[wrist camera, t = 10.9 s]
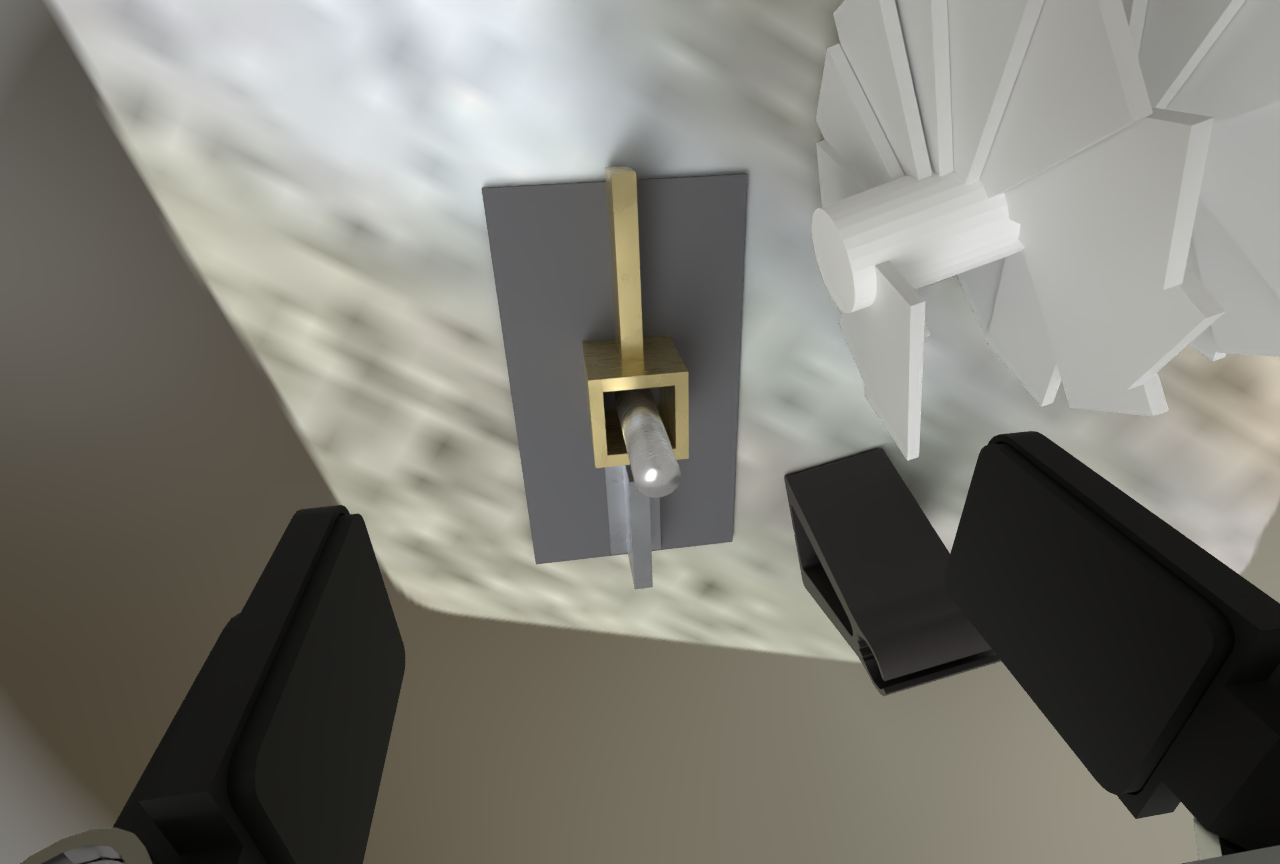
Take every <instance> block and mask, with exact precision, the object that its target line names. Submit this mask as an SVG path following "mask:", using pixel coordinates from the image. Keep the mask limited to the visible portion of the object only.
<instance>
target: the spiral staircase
mask: <svg viewBox="0 0 1280 864" xmlns="http://www.w3.org/2000/svg"><path fill="white" fill-rule="evenodd" d="M833 15H834V19H835V24H836V28H837V32H838V36H839V40H840V44H841V46H840V44H836V45H834V46H831V47H829V48H827V51H826V58H825V64H824V70H823V77H822V83H821V90H820V96H819V102H818V109H817V115H816V122H817V124H818V126H819V128H820V130H821V133H822V135H823V137H824V139H825V140H822V141H819V142H817V143H816V148H817V158H818V169H819V180H820V190H821V201H822V207H821V208H818V209H816V210H815V211H814V213H813V217H812V239H813V245H814V250H815V255H816V259H817V263H818V266H819V269H820V272H821V275H822V278H823V281H824V283H825V285H826V288H827V290H828V292H829V294H830V296H831V297H832V299H833V301H834V302H835V304H836V305H837V306H838V308H839V309H840V311H841V315H842V317H841V319H840V322H839V325H840V328H841V330H842V332H843V334H844V337H845V339H846V341H847V344H848V346H849V348H850V351H851V353H852V355H853V358H854V360H855V362H856V364H857V367H858V369H859V371H860V374H861V376H862V378H863V381H864V390H865V397H866V399H867V400H868V402H869V403H870V405H871V406H872V408H873V410H874V411H875V413H876V414H877V416H878V417H879V419H880V420H881V422H882V423H883V425H884V426H885V428H886V429H887V431H888V432H889V434H890V435H891V437H892V438H893V440H894V441H895V443H896V444H897V446H898V447H899V449H900V450H901V452H902V454H903V455H904V457H905V458H906V460H907V461H909V460H912V459H915V458H918V457H919V445H920V421H921V397H922V374H923V350H924V342H925V341H926V339H927V338H928V337H929V336H930V334H931V333H930V331H929V328H928V326H927V324H926V322H925V303H926V301H925V300H924V299H923V298H922V297H921V295H920V294H919V293H918V292H917V291H916V290H915V289H918V288H921V287H924V286H926V285H929V284H932V283H935V282H938V281H940V280H943V279H946V278H949V277H951V276H954V275H957V276H958V279H959V281H960V283H961V285H962V288H963V290H964V292H965V294H966V296H967V299H968V301H969V303H970V305H971V308H972V310H973V312H974V314H975V316H976V319H977V321H978V323H979V325H980V328H981V330H982V332H983V334H984V336H985V339H986V341H987V344H988V345H989V346H990V348H991V349H992V350H993V351H994V352H995V353H996V355H997V356H998V357H999V358H1000V359H1001V360H1002V362H1003V363H1004V364H1005V365H1006V366H1007V368H1008V369H1009V370H1010V371H1011V372H1012V373H1013V375H1014V376H1015V377H1016V378H1017V379H1018V380H1019V382H1020V383H1021V384H1022V385H1023V386H1024V387H1025V389H1026V390H1027V391H1028V392H1029V393H1030V394H1031V396H1032V397H1033V398H1034V399H1035V400H1036V401H1037V403H1038V404H1039V405H1040V406H1041V407H1042V406H1045V405H1048V404H1051V403H1053V401H1054V398H1055V396H1056V393H1057V390H1058V387H1059V385H1060V382H1061V380H1062V383H1063V386H1064V389H1065V393H1066V396H1067V399H1068V403H1069V406H1070V408H1077V409H1087V410H1096V411H1106V412H1116V413H1125V414H1135V415H1145V416H1155V415H1158V414H1161V413H1164V412H1167V411H1169V410H1168V407H1167V403H1166V400H1165V396H1164V393H1163V389H1162V386H1161V382H1160V379H1159V375H1158V371H1159V370H1160V369H1161V368H1162V367H1163V366H1164V365H1166V364H1167V363H1168V362H1169V361H1170V360H1171V359H1172V358H1174V357H1175V356H1176V355H1177V354H1178V353H1179V352H1180V351H1181V350H1183V349H1184V348H1185V347H1186V346H1189V347H1191V348H1192V349H1194V350H1195V351H1197V352H1199V353H1200V354H1202V355H1203V356H1205V357H1207V358H1208V359H1210V360H1211V361H1215V360H1218V359H1221V358H1224V357H1225V356H1226V354H1227V353H1230V354H1247V355H1264V356H1280V0H844V2H843V3H842V4H841V5H840V6H839V7H838V9H837V10H836V11H835V12H834V13H833Z"/></svg>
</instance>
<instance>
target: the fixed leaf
mask: <svg viewBox="0 0 1280 864" xmlns="http://www.w3.org/2000/svg"><path fill="white" fill-rule="evenodd" d="M613 395H614V399H615V403H616V407H617V411H618V415H619V420H620V424H621V428H622V432H623V436H624V440H625V445H626V449H627V453H628V457H629V461H630V465H621V466H612V467H605V478H606V491H607V505H608V519H609V533H610V546H611V555H614V554H623V553H628V556H629V561H630V566H631V572H632V577H633V582H634V588H635V589H641V588H649V587H653V583H652V554H651V550H658V549H661V531H660V497H663V496H666V495H668V494H670V493H672V492H673V491H674V490H675V489H676V488H677V487H678V485H679V483H680V480H681V471H680V468H679V465H678V462H677V460H676V457H675V454H674V452H673V449H672V446H671V444H670V441H669V438H668V436H667V433H666V430H665V428H664V425H663V422H662V420H661V417H660V414H659V412H658V409H657V406H656V404H655V401H654V398H653V396H652V393H651V390H650V388H642V389H631V390H620V391H613Z"/></svg>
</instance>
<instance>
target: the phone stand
mask: <svg viewBox="0 0 1280 864" xmlns="http://www.w3.org/2000/svg"><path fill="white" fill-rule="evenodd" d="M784 479H785V484H786V490H787V495H788V501H789V507H790V512H791V518H792V524H793V529H794V532H795V534H794V535H795V540H796V546H797V552H798V557H799V563H800V569H801V574H802V580H803V583H804V586H805V588H806V589H807V591H808V592H809V593H810V594H811V596H812V597H813V598H814V600H815V601H816V602H817V604H818V605H819V606H820V607H821V609H822V610H823V611H824V613H825V614H826V615H827V617H828V618H829V619H830V620H831V622H832V623H833V624H834V626H835V627H836V628H837V629H838V631H839V632H840V633H841V635H842V636H843V637H844V639H845V640H846V641H847V642H848V644H849V645H850V646H851V648H852V649H853V650H854V652H855V653H856V654H857V656H858V657H859V659H860V660H861V662H862V663H863V665H864V667H865V669H866V670H867V672H868V674H869V676H870V678H871V680H872V682H873V684H874V685H875V687H876V689H877V690H878V691H879V692H880V694H881V695H883V696H886V695H889V694H892V693H896V692H899V691H903V690H906V689H909V688H912V687H916V686H919V685H923V684H926V683H930V682H933V681H936V680H939V679H943V678H946V677H949V676H953V675H956V674H960V673H963V672H966V671H970V670H973V669H977V668H980V667H983V666H986V665H990V664H993V663H996V662H1000V661H1001V660H1000V658H999V657H998V656H997V655H996V653H995V652H994V651H993V650H992V648H991V647H990V646H989V645H988V643H987V642H986V641H985V639H984V638H983V637H982V636H981V634H980V633H979V632H978V631H977V629H976V628H975V627H974V626H973V624H972V623H971V622H970V621H969V619H968V618H967V617H966V616H965V614H964V613H963V612H962V610H961V609H960V608H959V607H958V605H957V604H956V603H955V602H954V600H953V599H952V598H951V596H950V595H949V593H948V591H947V588H946V585H945V571H946V568H947V564H948V561H949V557H950V553H949V552H948V550H947V549H946V547H945V545H944V544H943V542H942V541H941V539H940V538H939V536H938V535H937V533H936V531H935V530H934V528H933V527H932V525H931V524H930V522H929V520H928V519H927V517H926V516H925V514H924V513H923V511H922V510H921V508H920V506H919V505H918V503H917V502H916V500H915V499H914V497H913V496H912V494H911V492H910V491H909V489H908V488H907V486H906V485H905V483H904V481H903V480H902V478H901V477H900V475H899V474H898V472H897V471H896V469H895V467H894V466H893V464H892V463H891V461H890V460H889V458H888V457H887V455H886V453H885V452H884V450H883V449H882V448H879V449H876V450H872V451H869V452H866V453H862V454H859V455H856V456H852V457H849V458H846V459H842V460H839V461H836V462H832V463H829V464H826V465H822V466H819V467H816V468H812V469H809V470H806V471H802V472H799V473H796V474H792V475H789V476H786V477H784Z"/></svg>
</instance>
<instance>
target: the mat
mask: <svg viewBox="0 0 1280 864" xmlns="http://www.w3.org/2000/svg"><path fill="white" fill-rule="evenodd" d="M636 181H637V206H638V231H639V257H640V282H641V307H642V332H643V337H649V336H661V335H669V337H670V339H671V340H672V342H673V344H674V346H675V348H676V350H677V352H678V353H679V355H680V357H681V359H682V361H683V363H684V364H685V366H686V368H687V370H688V395H689V459H679V460H677V462H678V465H679V468H680V471H681V480H680V483H679V485H678V487H677V488H676V489H675V490H674V491H673V492H672V493H670V494H668V495H666V496H663V497H660V531H661V549H658V550H664V549H673V548H682V547H690V546H699V545H708V544H716V543H725V542H732V539H733V515H734V491H735V466H736V442H737V418H738V393H739V369H740V344H741V320H742V296H743V271H744V247H745V223H746V198H747V174H731V175H712V176H694V177H675V178H656V179H638V180H636ZM482 194H483V201H484V208H485V215H486V222H487V229H488V236H489V243H490V250H491V257H492V264H493V270H494V277H495V284H496V291H497V298H498V305H499V312H500V319H501V326H502V333H503V339H504V346H505V353H506V360H507V367H508V374H509V381H510V388H511V395H512V402H513V409H514V415H515V422H516V429H517V436H518V443H519V450H520V457H521V464H522V471H523V478H524V485H525V491H526V498H527V505H528V512H529V519H530V526H531V533H532V540H533V547H534V554H535V561H536V564H543V563H552V562H560V561H569V560H578V559H586V558H595V557H604V556H612V555H611V546H610V533H609V519H608V505H607V491H606V478H605V467H602V468H595V462H594V454H593V447H592V440H591V433H590V426H589V418H588V407H587V395H586V384H585V373H584V361H583V350H582V342H589V341H601V340H613V339H616V338H615V322H614V305H613V289H612V272H611V256H610V240H609V223H608V207H607V191H606V181H600V182H582V183H563V184H544V185H526V186H507V187H488V188H482ZM650 390H651V393H652V396H653V398H654V401H655V404H659V396H658V387H653V388H650ZM603 402H604V409H608V408H617V407H616V403H615V399H614V395H613V391H609V392H603ZM651 551H656V550H651ZM623 554H628V553H623ZM614 555H621V554H614Z"/></svg>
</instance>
